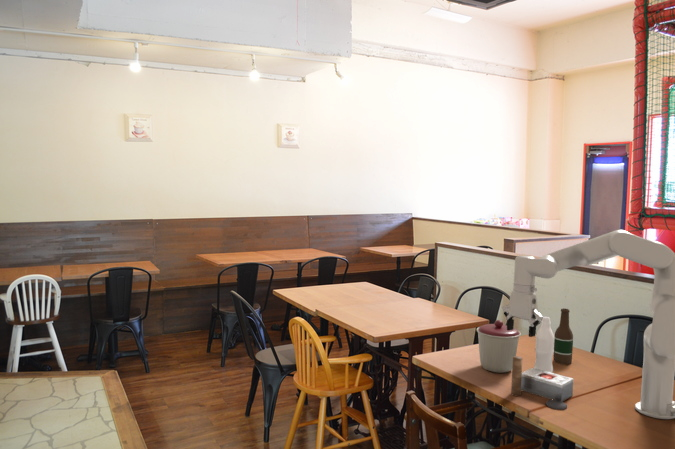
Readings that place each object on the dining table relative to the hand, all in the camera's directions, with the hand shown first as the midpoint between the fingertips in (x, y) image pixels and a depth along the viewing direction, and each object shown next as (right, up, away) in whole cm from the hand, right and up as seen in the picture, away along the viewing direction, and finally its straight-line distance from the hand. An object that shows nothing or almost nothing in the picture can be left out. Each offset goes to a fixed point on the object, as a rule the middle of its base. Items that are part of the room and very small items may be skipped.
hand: (520, 333), depth 205 cm
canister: (-1, -21, +26) cm, 33 cm away
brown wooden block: (-2, -23, -2) cm, 23 cm away
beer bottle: (+31, -21, +37) cm, 52 cm away
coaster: (+9, -24, -12) cm, 28 cm away
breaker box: (+10, -23, 0) cm, 25 cm away
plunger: (+10, -19, 0) cm, 21 cm away
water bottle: (+15, -22, +17) cm, 31 cm away
